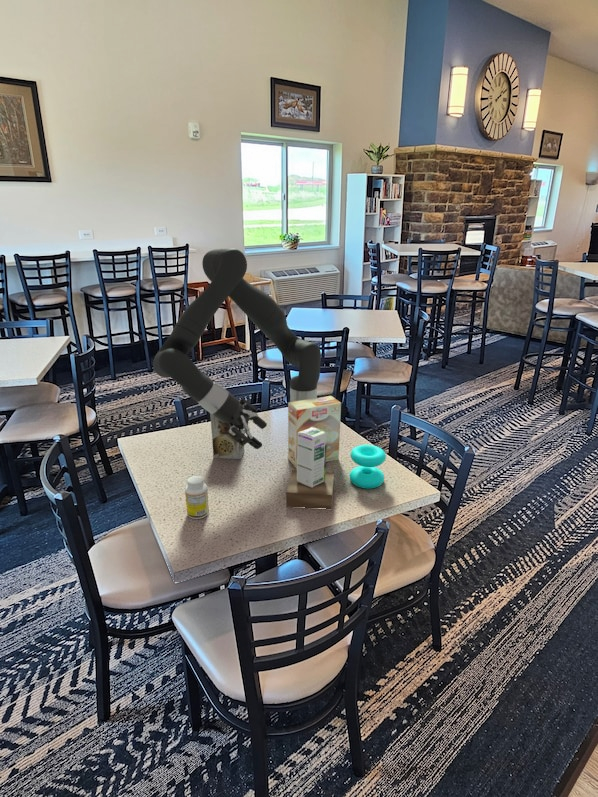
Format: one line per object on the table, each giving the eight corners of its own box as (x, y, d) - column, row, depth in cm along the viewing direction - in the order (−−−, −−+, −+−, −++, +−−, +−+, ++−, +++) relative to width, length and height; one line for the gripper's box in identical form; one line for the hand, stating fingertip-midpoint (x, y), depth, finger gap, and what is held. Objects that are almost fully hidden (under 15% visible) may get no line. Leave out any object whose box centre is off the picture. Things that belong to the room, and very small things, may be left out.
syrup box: (312, 488, 131) (314, 437, 127) (295, 481, 135) (297, 431, 130) (325, 481, 135) (328, 431, 131) (309, 474, 139) (311, 426, 134)
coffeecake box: (296, 469, 151) (296, 409, 144) (287, 458, 157) (287, 401, 150) (339, 459, 156) (342, 402, 149) (329, 450, 162) (331, 394, 155)
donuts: (344, 452, 139) (361, 439, 147) (343, 483, 143) (359, 469, 151) (376, 462, 134) (392, 448, 142) (374, 494, 138) (389, 479, 145)
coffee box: (244, 450, 162) (243, 404, 156) (240, 459, 156) (238, 412, 150) (217, 449, 163) (214, 403, 157) (212, 458, 157) (209, 411, 151)
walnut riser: (291, 485, 143) (291, 469, 141) (333, 487, 142) (334, 472, 140) (286, 508, 132) (286, 492, 130) (331, 511, 131) (331, 495, 129)
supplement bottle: (194, 506, 132) (192, 472, 128) (213, 510, 130) (210, 476, 126) (182, 517, 127) (179, 482, 123) (201, 522, 125) (198, 487, 121)
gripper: (221, 411, 126) (267, 447, 132) (232, 379, 137) (275, 413, 143) (203, 425, 129) (249, 460, 135) (215, 393, 140) (257, 426, 147)
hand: (262, 436), depth 139 cm, fingers open, 8 cm apart
